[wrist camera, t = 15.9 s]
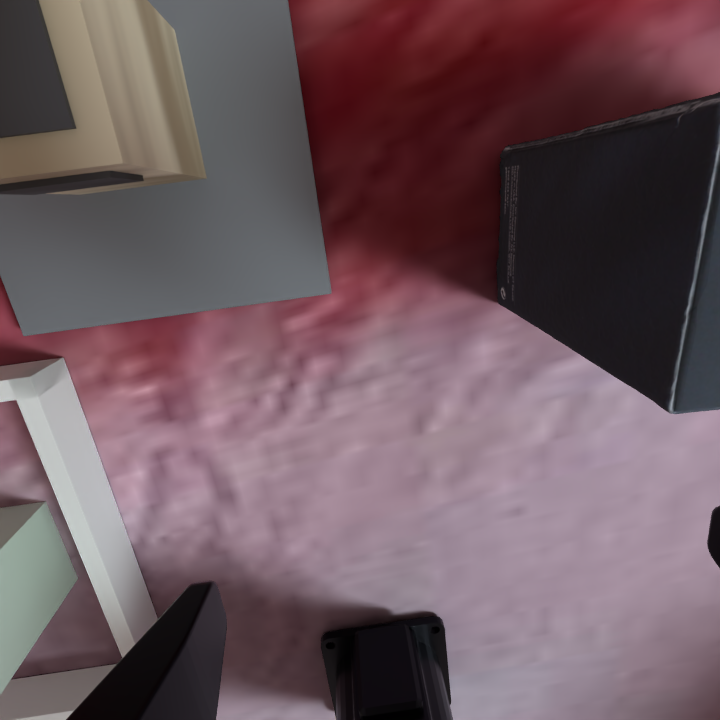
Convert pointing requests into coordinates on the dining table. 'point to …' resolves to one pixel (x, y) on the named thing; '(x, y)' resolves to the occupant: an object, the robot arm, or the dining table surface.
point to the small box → (622, 247)
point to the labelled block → (92, 99)
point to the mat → (187, 196)
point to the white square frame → (75, 532)
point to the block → (29, 580)
